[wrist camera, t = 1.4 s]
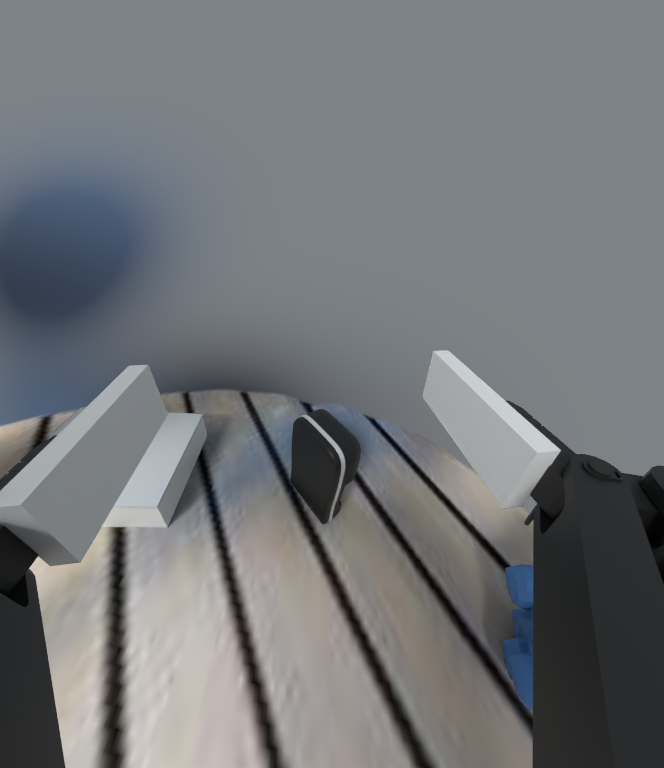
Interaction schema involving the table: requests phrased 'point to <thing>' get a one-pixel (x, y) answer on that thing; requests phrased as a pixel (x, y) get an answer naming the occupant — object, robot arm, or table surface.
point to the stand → (158, 473)
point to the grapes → (521, 632)
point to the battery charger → (322, 461)
